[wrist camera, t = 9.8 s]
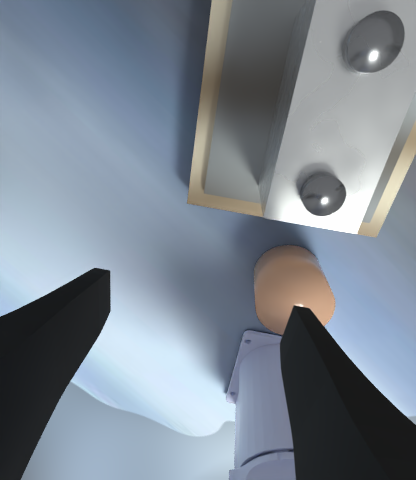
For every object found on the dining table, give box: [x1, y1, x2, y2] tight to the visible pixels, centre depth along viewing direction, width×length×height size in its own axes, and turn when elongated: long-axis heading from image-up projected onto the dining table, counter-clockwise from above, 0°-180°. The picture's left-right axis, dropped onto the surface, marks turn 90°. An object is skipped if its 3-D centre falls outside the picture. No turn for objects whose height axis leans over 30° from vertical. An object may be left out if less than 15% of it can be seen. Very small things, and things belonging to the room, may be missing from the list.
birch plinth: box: [187, 0, 416, 237], centre depth 16 cm, size 12×12×2 cm
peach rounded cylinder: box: [254, 245, 335, 335], centre depth 21 cm, size 5×5×4 cm
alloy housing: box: [258, 0, 416, 234], centre depth 13 cm, size 8×4×6 cm, turn 172°
